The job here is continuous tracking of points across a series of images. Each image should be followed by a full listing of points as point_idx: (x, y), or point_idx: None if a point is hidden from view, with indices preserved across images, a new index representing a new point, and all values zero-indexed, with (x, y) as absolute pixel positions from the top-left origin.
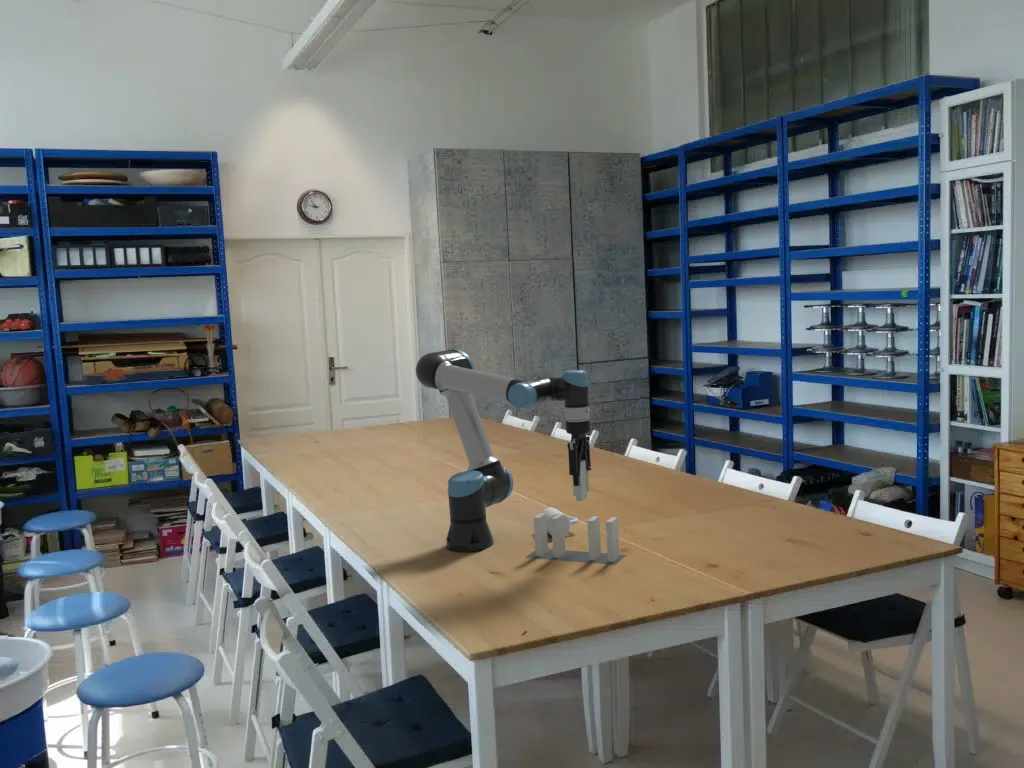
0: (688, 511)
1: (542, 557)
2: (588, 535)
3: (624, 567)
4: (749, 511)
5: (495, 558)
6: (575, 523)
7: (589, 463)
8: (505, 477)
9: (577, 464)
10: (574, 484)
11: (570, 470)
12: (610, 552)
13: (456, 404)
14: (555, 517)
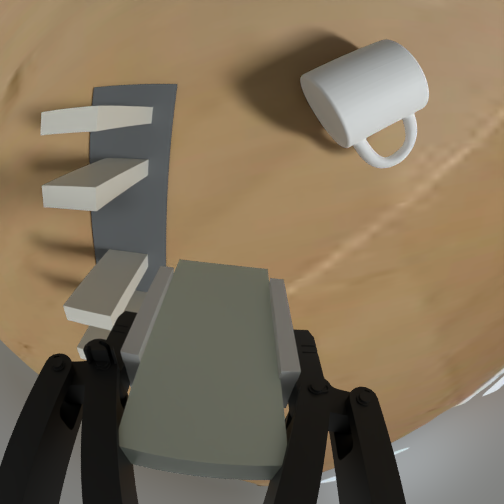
0: (460, 342)
1: (99, 131)
2: (82, 281)
3: None
4: (427, 399)
5: (93, 21)
6: (365, 161)
7: (333, 442)
8: None
9: (67, 447)
10: (119, 320)
11: (43, 381)
12: None
13: None
14: (54, 196)
